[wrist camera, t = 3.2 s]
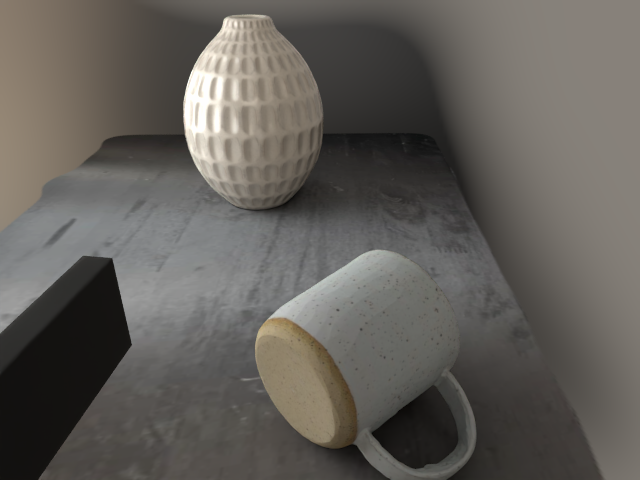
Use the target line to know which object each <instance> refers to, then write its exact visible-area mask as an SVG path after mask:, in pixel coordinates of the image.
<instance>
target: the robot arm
mask: <svg viewBox="0 0 640 480" xmlns="http://www.w3.org/2000/svg"><path fill="white" fill-rule="evenodd" d="M131 345H132V344H131V339H130V335H129V330H128V326H127V321H126V317H125V313H124V308H123V304H122V299H121V295H120V291H119V286H118V282H117V277H116V273H115V269H114V264H113V260H112V258H103V257H91V256H82V257H81V258H80V259H79V260H78V261H77V262H76V263H75V264H74V265H73V266H72V267H71V268H70V269H69V270H68V271H66V272H65V273H64V274H63V275H62V276H61V277H60V278H59V279H58V280H57V281H56V282H55V283H54V284H53V285H52V286H50V287H49V288H48V289H47V290H46V291H45V292H44V293H43V294H42V295H41V296H40V297H39V298H38V299H37V300H36V301H34V302H33V303H32V304H31V305H30V306H29V307H28V308H27V309H26V310H25V311H24V312H23V313H22V314H21V315H20V316H18V317H17V318H16V319H15V320H14V321H13V322H12V323H11V324H10V325H9V326H8V327H7V328H6V329H5V330H4V331H2V332H1V333H0V480H38V479H39V477H40V476H41V474H42V473H43V472H44V470H45V469H46V467H47V466H48V464H49V463H50V462H51V460H52V459H53V457H54V456H55V454H56V453H57V451H58V450H59V449H60V447H61V446H62V444H63V443H64V441H65V440H66V439H67V437H68V436H69V434H70V433H71V431H72V430H73V429H74V427H75V426H76V424H77V423H78V421H79V420H80V418H81V417H82V416H83V414H84V413H85V411H86V410H87V408H88V407H89V406H90V404H91V403H92V401H93V400H94V398H95V397H96V396H97V394H98V393H99V391H100V390H101V388H102V387H103V385H104V384H105V383H106V381H107V380H108V378H109V377H110V375H111V374H112V373H113V371H114V370H115V368H116V367H117V365H118V364H119V362H120V361H121V360H122V358H123V357H124V355H125V354H126V352H127V351H128V350H129V348H130V347H131Z"/></svg>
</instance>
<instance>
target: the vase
mask: <svg viewBox="0 0 640 480" xmlns="http://www.w3.org/2000/svg"><path fill="white" fill-rule="evenodd" d="M184 128H185V136H186V140H187V144H188V148H189V151H190V154H191V156H192V158H193V161H194V163H195V165H196V166H197V168H198V169H199V171H200V172H201V174H202V176H203V177H204V179H205V180H206V181H207V182H208V183H209V185H210V186H211V187H212V188H213V189H214V190H215V191H216V192H217V193H218V194H220V195H221V196H222V197H223V198H224V199H226V200H227V201H228V202H230V203H231V204H232V205H234V206H236V207H239V208H243V209H251V210H262V209H270V208H274V207H277V206H280V205H282V204H284V203H286V202H287V201H288V200H289V199H290V198H292V197H293V196H294V195H295V194H296V192H297V191H298V190H299V189H300V188H301V187H302V186H303V184H304V183H305V181H306V180H307V178H308V177H309V175H310V173H311V172H312V170H313V168H314V166H315V164H316V161H317V159H318V156H319V152H320V149H321V145H322V138H323V109H322V101H321V98H320V94H319V91H318V87H317V84H316V82H315V80H314V78H313V75H312V73H311V71H310V69H309V67H308V65H307V64H306V62H305V60H304V59H303V58H302V56H301V55H300V53H299V52H298V51H297V50H296V49H295V48H294V47H293V45H292V44H291V43H290V42H289V41H288V40H287V39H286V38H285V37H283V36H282V35H281V34H280V33H279V32H278V31H277V30H276V28H275V26H274V24H273V21H272V19H271V18H270V17H269V16H265V15H234V16H228V17H227V18H225V19H224V22H223V26H222V29H221V31H220V32H219V33H218V34H217V36H216V37H215V38H214V39H213V40H212V41H211V42H210V43H209V44H208V46H207V47H206V48H205V50H204V51H203V53H202V54H201V55H200V57H199V59H198V60H197V62H196V64H195V66H194V68H193V70H192V73H191V75H190V78H189V81H188V84H187V88H186V92H185V98H184Z"/></svg>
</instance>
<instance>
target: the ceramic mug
mask: <svg viewBox="0 0 640 480" xmlns="http://www.w3.org/2000/svg"><path fill="white" fill-rule="evenodd" d="M459 350H460V333H459V328H458V324H457V321H456V318H455V315H454V312H453V309H452V308H451V306H450V303H449V301H448V300H447V298H446V296H445V295H444V293H443V292H442V290H441V289H440V287H439V286H438V285H437V284H436V282H435V281H434V280H433V279H432V278H431V277H430V276H429V274H428V273H427V272H426V271H425V270H424V269H422V268H421V267H420V266H419V265H417V264H416V263H415V262H413V261H411V260H409V259H408V258H407V257H405V256H403V255H401V254H398V253H395V252H392V251H386V250H373V251H370V252H366V253H364V254H362V255H361V256H359V257H357V258H356V259H355V260H353V261H352V262H350V263H349V264H348V265H346V266H344V267H343V268H341V269H339V270H338V271H336V272H335V273H333V274H332V275H330V276H328V277H327V278H325V279H324V280H322V281H321V282H319V283H318V284H316V285H315V286H313V287H312V288H310V289H309V290H307V291H305V292H304V293H302V294H300V295H299V296H297V297H295V298H294V299H292V300H291V301H289V302H288V303H286V304H285V305H283V306H282V307H281V308H279V309H278V310H277V311H276V312H275V313H274V314H273V315H272V316H271V317H270V318H269V319H268V320H267V321H266V322H265V323H264V324H263V325H262V326H261V328H260V329H259V332H258V335H257V339H256V344H255V356H256V363H257V367H258V371H259V374H260V377H261V379H262V382H263V384H264V386H265V388H266V390H267V392H268V394H269V396H270V398H271V399H272V401H273V403H274V404H275V406H276V407H277V409H278V410H279V412H280V413H281V414H282V415H283V416H284V418H285V419H286V420H287V421H288V422H289V424H290V425H291V426H292V427H293V428H294V429H295V430H296V431H298V432H299V433H300V434H301V435H302V436H304V437H305V438H307V439H308V440H310V441H311V442H313V443H315V444H317V445H320V446H322V447H327V448H332V449H337V448H342V447H345V446H348V445H350V444H355V445H357V446H358V448H359V449H360V451H361V452H362V453H363V455H364V457H365V458H366V460H367V461H368V462H369V463H370V464H371V465H372V466H373V467H375V468H376V469H377V470H378V471H380V472H381V473H382V474H383V475H384V476H386V477H387V478H389V479H391V480H447V479H448V478H449V477H451V476H452V475H454V474H455V473H456V472H457V471H458V470H460V469H461V468H462V467H463V466H464V465H465V464H466V463H467V462H468V460H469V459H470V457H471V456H472V453H473V451H474V449H475V444H476V425H475V418H474V415H473V412H472V409H471V406H470V403H469V401H468V399H467V397H466V395H465V393H464V391H463V389H462V388H461V386H460V384H459V383H458V381H457V380H456V379H455V377H454V376H453V374H452V373H451V372H450V369H451V368H452V367H453V366H454V364H455V361H456V359H457V356H458V354H459ZM433 385H434V386H435V387H436V388H437V389H438V390H439V392H440V393H441V395H442V396H443V398H444V400H445V401H446V403H447V405H448V407H449V408H450V410H451V412H452V415H453V417H454V419H455V422H456V427H457V432H458V444H457V446H456V448H455V450H454V451H453V452H452V453H451V454H449V455H448V456H447V457H446V458H445V459H443V460H442V461H440V462H439V463H438V464H426V465H425V466H424V468H418V469H413V468H410V467H408V466H406V465H405V464H403V463H401V462H398V461H397V460H396V459H395V458H394V457H393V456H392V455H391V454H390V453H389V452H387V451H386V450H385V449H384V448H383V447H381V445H380V443H379V442H378V441H377V440H376V439H375V438H374V437H373V436H372V432H373V431H375V430H376V429H378V428H379V427H380V426H381V425H382V424H383V423H385V422H386V421H387V420H388V419H389V418H391V417H392V416H394V415H395V414H396V413H397V411H399V410H400V409H402V408H403V407H404V406H405V405H407V404H408V403H410V402H411V401H412V400H414V399H415V398H416V397H418V396H419V395H420V394H422V393H424V392H425V391H426V390H427V389H428V388H430V387H431V386H433Z"/></svg>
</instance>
